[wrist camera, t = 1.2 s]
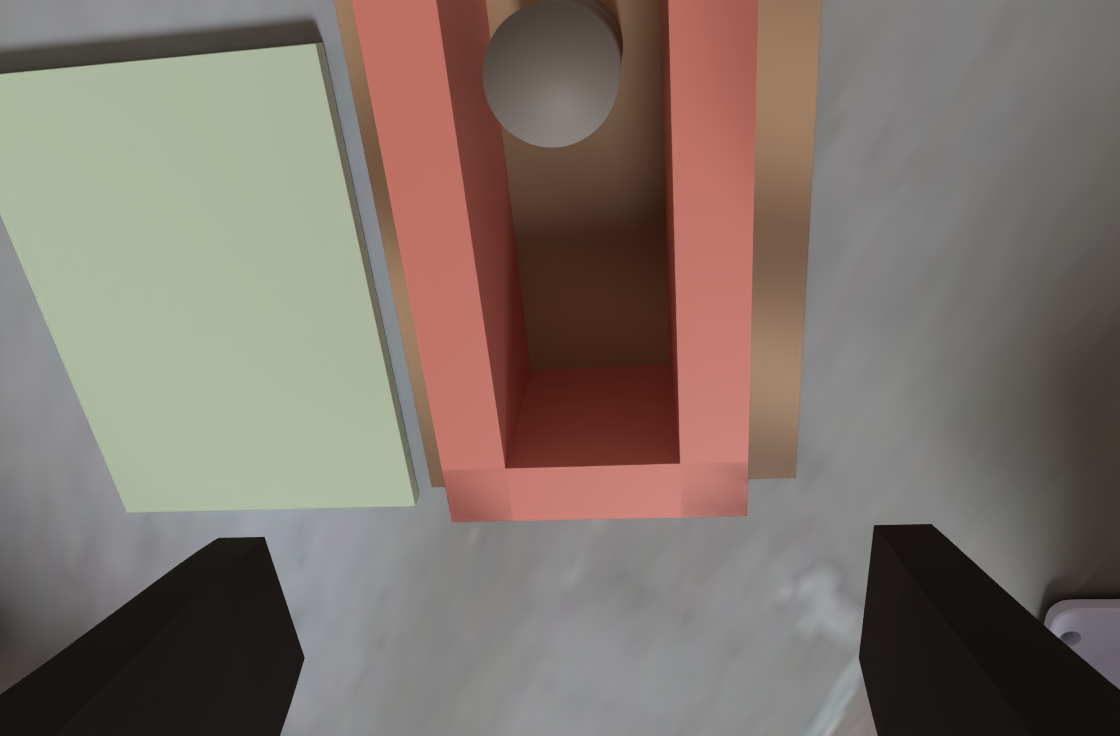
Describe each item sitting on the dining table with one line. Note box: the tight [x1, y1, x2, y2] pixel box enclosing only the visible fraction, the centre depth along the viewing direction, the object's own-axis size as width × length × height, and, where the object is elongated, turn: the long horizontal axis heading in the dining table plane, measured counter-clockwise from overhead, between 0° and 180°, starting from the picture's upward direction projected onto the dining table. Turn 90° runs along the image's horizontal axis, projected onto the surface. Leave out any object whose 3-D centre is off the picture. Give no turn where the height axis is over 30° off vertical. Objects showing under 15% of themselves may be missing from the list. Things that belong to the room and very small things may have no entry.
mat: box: [0, 42, 419, 513], centre depth 18 cm, size 11×8×1 cm
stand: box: [334, 0, 822, 487], centre depth 14 cm, size 14×9×5 cm, turn 5°
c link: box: [352, 0, 758, 522], centre depth 14 cm, size 10×6×4 cm, turn 5°
